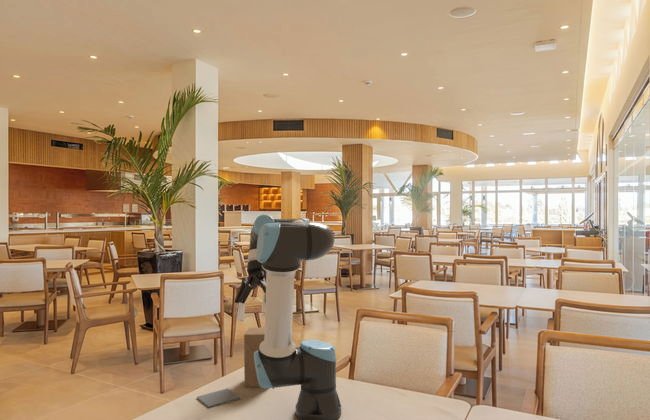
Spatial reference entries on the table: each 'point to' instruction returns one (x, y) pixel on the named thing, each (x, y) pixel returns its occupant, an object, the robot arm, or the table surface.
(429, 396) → the table surface
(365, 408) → the table surface
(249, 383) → the wooden block
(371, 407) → the table surface
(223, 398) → the mat
